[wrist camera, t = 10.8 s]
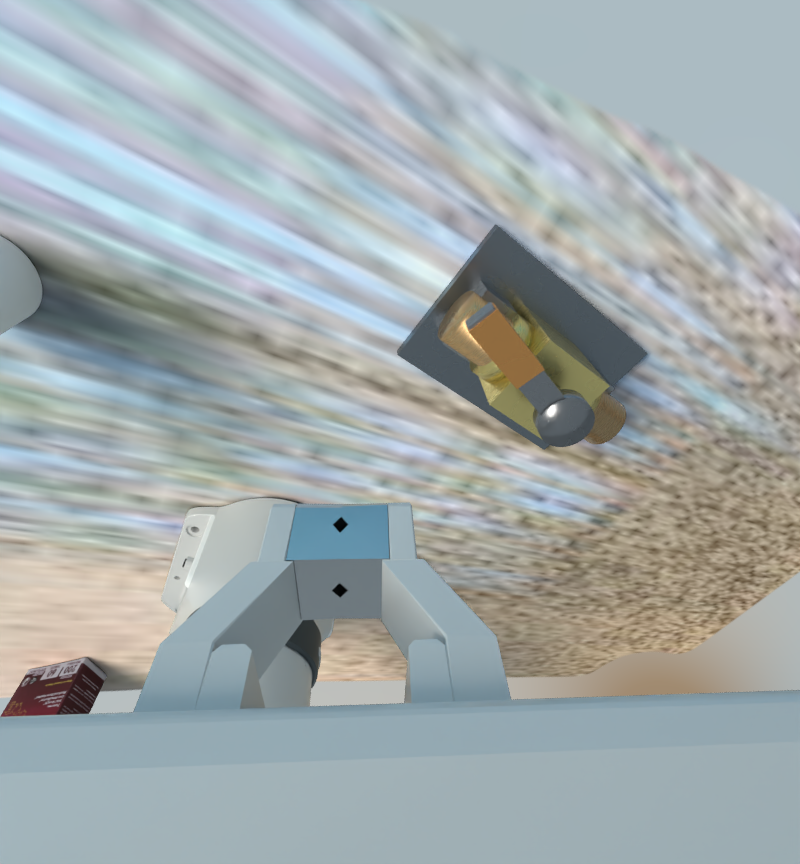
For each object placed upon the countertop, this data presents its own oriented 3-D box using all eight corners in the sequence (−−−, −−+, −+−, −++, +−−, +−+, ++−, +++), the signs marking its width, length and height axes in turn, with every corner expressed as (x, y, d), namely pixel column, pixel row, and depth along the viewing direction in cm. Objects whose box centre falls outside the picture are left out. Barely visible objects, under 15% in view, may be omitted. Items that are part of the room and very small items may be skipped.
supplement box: (86, 654, 61) (8, 805, 48) (108, 674, 64) (41, 822, 51) (25, 668, 62) (-66, 819, 49) (50, 687, 65) (-30, 835, 52)
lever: (596, 413, 33) (604, 425, 32) (550, 443, 34) (556, 455, 33) (502, 289, 28) (508, 298, 27) (452, 329, 29) (455, 339, 28)
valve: (541, 444, 46) (577, 515, 38) (397, 350, 40) (403, 412, 32) (643, 349, 41) (707, 408, 33) (495, 224, 35) (532, 260, 27)
